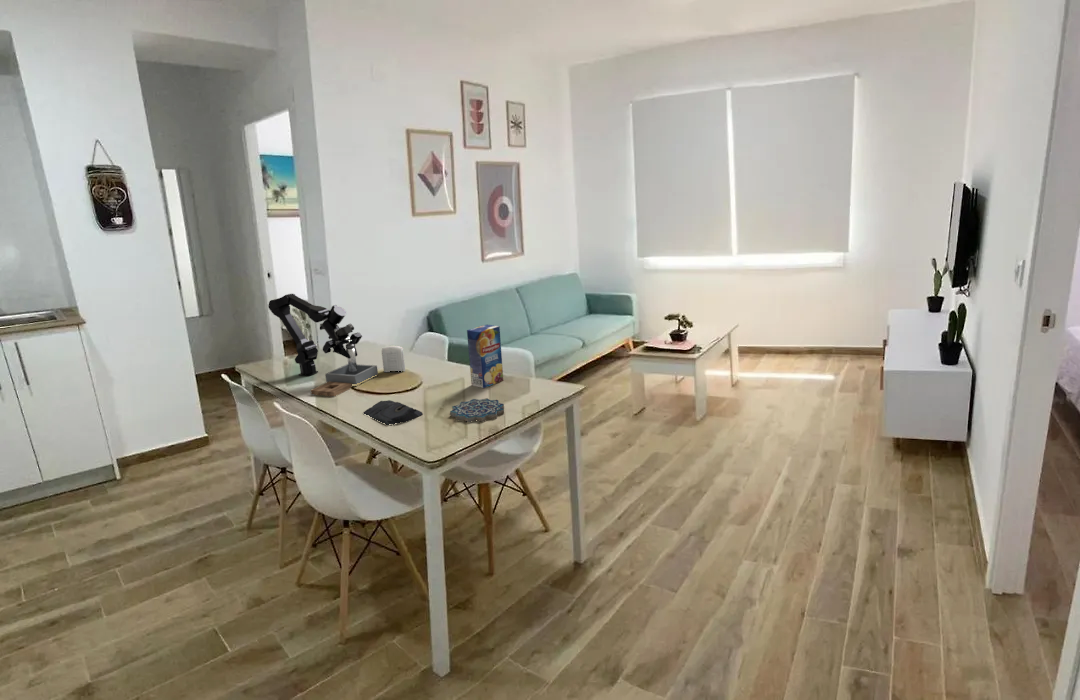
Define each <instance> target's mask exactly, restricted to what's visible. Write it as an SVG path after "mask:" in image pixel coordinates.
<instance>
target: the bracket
mask: <svg viewBox="0 0 1080 700" xmlns="http://www.w3.org/2000/svg"><path fill="white" fill-rule="evenodd" d="M351 386H352V383H343V382H330V381H329V382H327V383H326V382H325V383H323V384H320V385H318V386H317V387H315V388H313V389H310V395H311V394H314V396H321V395H325V396H324V397H332V396H335V397H337V396H338V395H340V394H343V393H345V392H346V391H348V390H350V388H351ZM352 387H353V386H352ZM351 389H352V388H351ZM336 395H337V396H336Z"/></svg>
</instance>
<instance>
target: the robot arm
mask: <svg viewBox="0 0 1080 700" xmlns="http://www.w3.org/2000/svg"><path fill="white" fill-rule="evenodd" d="M267 306H268V309H269V310H270V312H271V313H272V314H273V315H274V316H275V317H277V318H279V319H280V320H281V322H282V324H283V325H284V327H285V328H286V330H287V332H288V334H289V335H290V336H291V338H292V339H293V341H294V342H295V344H296V352H297V355H296V356H295V358H294V362H295V364H298V365H299V369H300V373H298V376H303V377H304V376H306V377H311V376H312V375H315V374H317V373H319V370H317V367H316V364H315V360H317V359H318V353H319V350H318V346H317V345H316V344H315V341H314V340H312V339H311V340H309V339H307V338H306V336H305V335H304V333H303V332H302V330H301V328H300V327H299V325H298V324H297V322H296V320H295V319H294V317H293V315H292V314H291V306H292V307H293V308H295V309H297V310H299V311H301V312H302V313H305V314H307V316H308V318H309V319H310V320H311V321H313V322H315V323H319V330H320V331H322V330H324V331H325V332H326V333H327V335H328V339H329V340H327V341H326V342H325V343H324V345H323V347H322V352H324V354H329V353H331V351H332V353H335V354H339V355H341V356H343V357H345V358H349V359H350V355H349V354H348V352H347V351H346V347H344V345H347V344H354V348H355V356H356V357H358V351H357V348H356V345H357V344H359V342H360V340H361V339H362V338H363V335H362V334H361V333H360V332H353V331H354V330H355V327H354V325H353V324H352V323H348V324H346V325H345V326H342V327H340V325H339V324H341V322H342V321H343V319H344V318H345V317H346V315H347V311H346V309H344V308H343V307H341V306H338V305H337V304H335V305H332V306H331V308H330V309H328V308H326V307H323V306H322V305H321V306H320V305H314V304H312V303H310V302H308V301H306V300H304V299H302V298H301V297H299V296H297V295H296V294H295V293H288V294H285V295H283V296H281V297H279V298H275V299H271V300H269V301H268V305H267ZM320 322H322V323H320ZM350 334H351V335H350ZM349 335H350V336H349ZM332 349H333V350H332Z"/></svg>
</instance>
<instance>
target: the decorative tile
mask: <svg viewBox="0 0 1080 700" xmlns="http://www.w3.org/2000/svg"><path fill="white" fill-rule="evenodd" d="M451 409H452V410H450V411H449V414H450V417H451V416H452V417H451V418H455V421H456V420H465V421H464V422H466V421H467V422H470V423H472V422H471V421H474V422H479V421H482V422H481V423H484V422H486V421H488V420H496V419H498V416H501V415H505V404H504V403H501V402H500V401H499V400H498V399H492V400H491V399H490V398H488V397H487V398H481V399H477V398H472V399H471V400H469V401H468V400H467V401H466V400H465V401H460V402H459V404H457V405H452V406H451ZM487 419H488V420H487ZM476 420H477V421H476ZM485 420H486V421H485ZM483 421H484V422H483ZM467 422H466V423H467Z"/></svg>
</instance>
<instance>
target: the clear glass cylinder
mask: <svg viewBox="0 0 1080 700" xmlns="http://www.w3.org/2000/svg"><path fill="white" fill-rule="evenodd" d="M355 348H356V347H355ZM355 348H354V344H345V349H346V351H347V352H348V354H349V355H350V359H349V358H347V357H346V358H347V364H348V367H349V371H350V372H354V371H357V364H358V363H357V358H356V357H357V356H355Z"/></svg>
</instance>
